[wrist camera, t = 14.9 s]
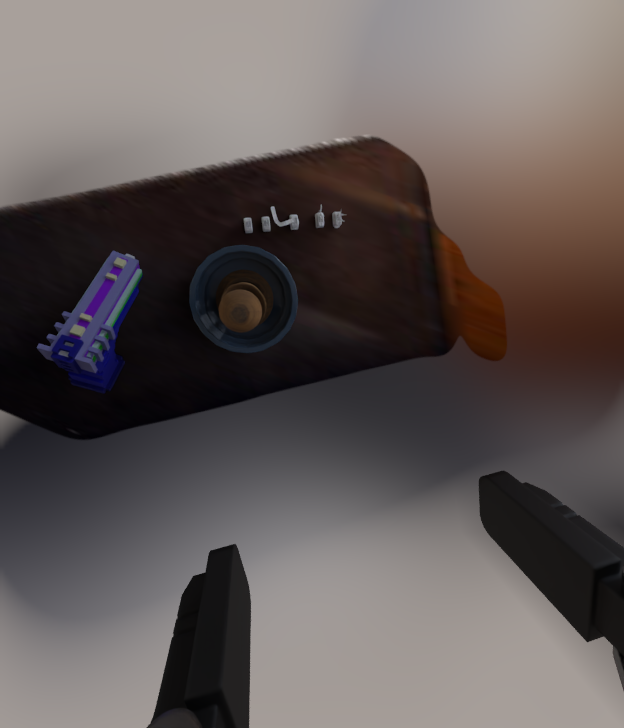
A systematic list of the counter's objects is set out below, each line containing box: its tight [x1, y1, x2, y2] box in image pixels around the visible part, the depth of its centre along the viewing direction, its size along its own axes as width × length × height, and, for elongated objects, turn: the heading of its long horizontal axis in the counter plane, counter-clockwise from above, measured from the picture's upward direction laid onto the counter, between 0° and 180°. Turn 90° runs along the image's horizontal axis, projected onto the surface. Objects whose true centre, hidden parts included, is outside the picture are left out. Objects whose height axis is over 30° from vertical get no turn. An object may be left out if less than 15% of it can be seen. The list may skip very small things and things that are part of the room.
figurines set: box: [244, 205, 345, 233], centre depth 37 cm, size 12×3×3 cm, turn 95°
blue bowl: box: [189, 245, 298, 353], centre depth 37 cm, size 11×11×6 cm
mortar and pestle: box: [216, 270, 273, 333], centre depth 30 cm, size 7×6×18 cm
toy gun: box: [37, 251, 143, 394], centre depth 35 cm, size 4×13×10 cm
